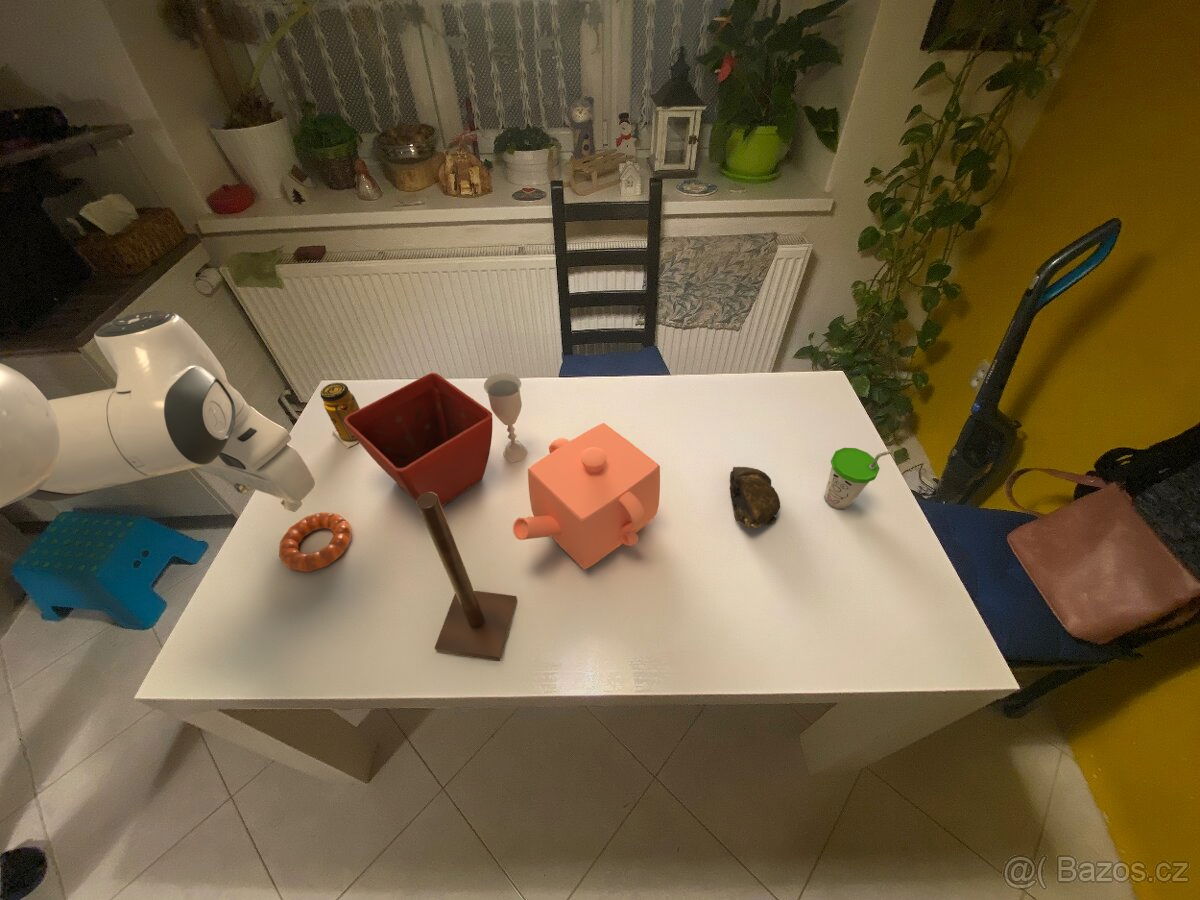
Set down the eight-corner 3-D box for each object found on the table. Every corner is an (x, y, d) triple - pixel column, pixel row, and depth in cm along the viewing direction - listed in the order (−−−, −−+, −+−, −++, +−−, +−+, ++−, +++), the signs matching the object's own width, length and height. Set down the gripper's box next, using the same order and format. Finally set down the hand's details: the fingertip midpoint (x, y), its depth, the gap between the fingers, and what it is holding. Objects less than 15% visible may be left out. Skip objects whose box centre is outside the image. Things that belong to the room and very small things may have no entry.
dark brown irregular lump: (718, 469, 102) (731, 445, 97) (759, 476, 103) (775, 453, 98) (730, 537, 90) (747, 513, 85) (777, 544, 91) (796, 521, 86)
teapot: (565, 620, 80) (557, 559, 67) (488, 532, 92) (468, 466, 79) (673, 533, 92) (684, 466, 79) (592, 464, 103) (590, 397, 91)
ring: (332, 577, 86) (326, 569, 84) (270, 569, 87) (262, 560, 85) (364, 522, 94) (359, 513, 92) (306, 515, 95) (300, 506, 93)
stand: (500, 661, 76) (454, 542, 53) (436, 652, 77) (365, 531, 54) (517, 600, 83) (483, 471, 60) (458, 592, 84) (403, 463, 61)
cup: (806, 497, 97) (831, 441, 86) (831, 478, 100) (858, 422, 89) (842, 523, 93) (873, 468, 82) (867, 502, 96) (899, 447, 85)
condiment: (332, 432, 111) (309, 389, 103) (368, 413, 115) (349, 371, 107) (347, 449, 108) (325, 406, 99) (384, 429, 112) (365, 386, 103)
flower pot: (452, 432, 111) (433, 369, 99) (508, 477, 101) (494, 414, 89) (372, 480, 101) (341, 417, 89) (426, 535, 92) (398, 473, 80)
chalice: (537, 457, 105) (527, 389, 92) (507, 470, 103) (492, 402, 90) (523, 436, 110) (511, 368, 97) (493, 448, 107) (477, 380, 94)
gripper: (136, 426, 65) (199, 494, 75) (257, 467, 60) (307, 535, 70) (180, 396, 69) (234, 465, 79) (297, 432, 64) (339, 501, 74)
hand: (269, 498), depth 74 cm, fingers open, 8 cm apart
